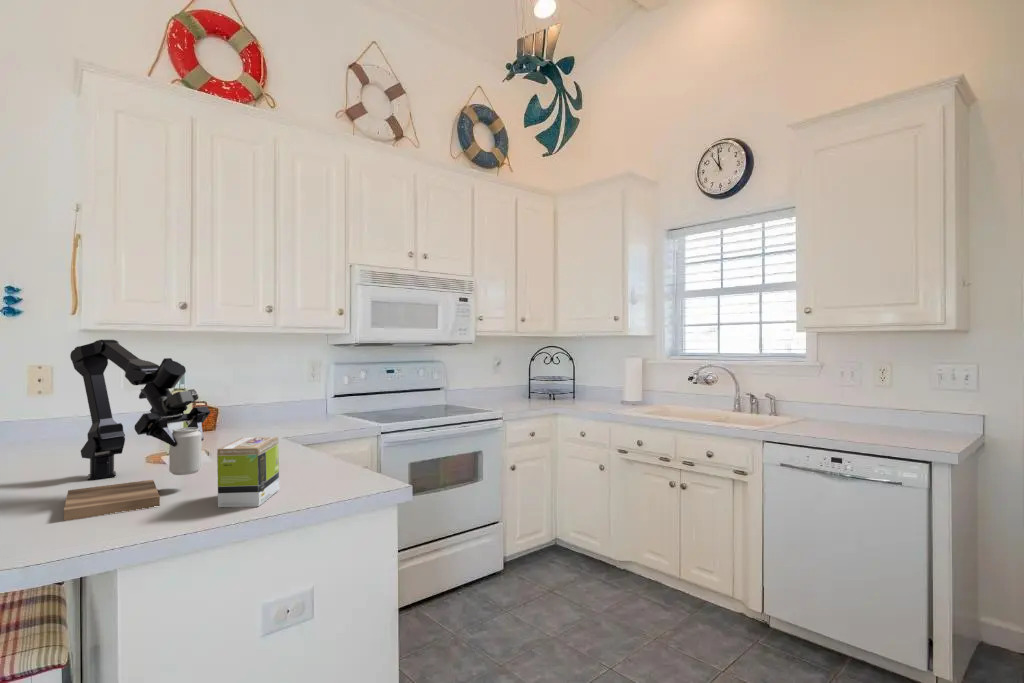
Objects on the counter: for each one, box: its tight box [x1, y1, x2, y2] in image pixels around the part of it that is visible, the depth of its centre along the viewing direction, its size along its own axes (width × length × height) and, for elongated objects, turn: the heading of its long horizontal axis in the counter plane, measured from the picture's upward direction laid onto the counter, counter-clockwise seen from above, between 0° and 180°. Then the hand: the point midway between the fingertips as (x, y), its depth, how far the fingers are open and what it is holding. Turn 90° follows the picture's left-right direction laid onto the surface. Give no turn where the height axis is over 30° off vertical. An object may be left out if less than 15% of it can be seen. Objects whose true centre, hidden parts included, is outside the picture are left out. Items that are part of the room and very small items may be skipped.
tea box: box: [216, 436, 280, 508], centre depth 139 cm, size 15×10×15 cm, turn 5°
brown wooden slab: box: [63, 479, 161, 522], centre depth 135 cm, size 20×18×3 cm
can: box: [168, 426, 203, 476], centre depth 148 cm, size 8×8×12 cm
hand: (189, 443), depth 147 cm, fingers closed on can, 7 cm apart
